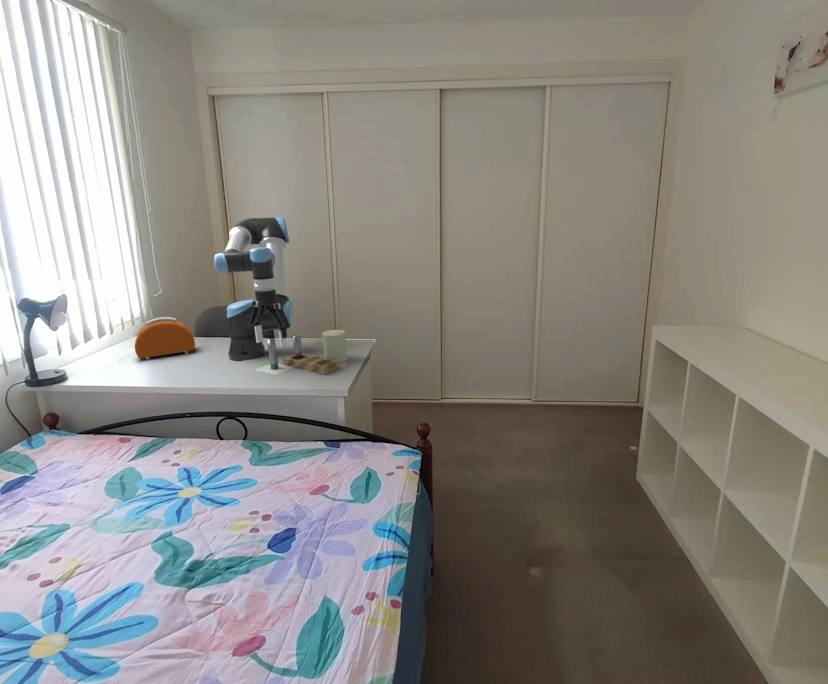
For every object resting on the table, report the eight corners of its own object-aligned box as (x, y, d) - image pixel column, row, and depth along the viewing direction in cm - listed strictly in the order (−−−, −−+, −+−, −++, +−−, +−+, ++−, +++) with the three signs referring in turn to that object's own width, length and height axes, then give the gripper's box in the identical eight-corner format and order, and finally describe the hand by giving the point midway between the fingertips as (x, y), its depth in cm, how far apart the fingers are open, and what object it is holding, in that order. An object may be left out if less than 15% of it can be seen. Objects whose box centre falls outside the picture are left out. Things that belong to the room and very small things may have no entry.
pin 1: (269, 368, 203) (265, 339, 200) (275, 366, 205) (271, 337, 202) (274, 370, 201) (270, 340, 198) (280, 367, 204) (276, 338, 200)
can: (342, 363, 207) (340, 334, 203) (321, 363, 209) (318, 334, 205) (350, 356, 215) (348, 328, 212) (329, 356, 217) (326, 328, 214)
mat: (254, 370, 203) (254, 369, 203) (274, 363, 211) (274, 362, 211) (275, 375, 196) (275, 374, 196) (295, 367, 204) (294, 367, 204)
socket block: (283, 366, 207) (282, 358, 206) (300, 359, 214) (299, 352, 213) (324, 374, 195) (323, 367, 194) (340, 367, 202) (339, 360, 201)
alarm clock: (195, 347, 237) (189, 312, 232) (196, 352, 229) (190, 316, 224) (138, 356, 228) (130, 319, 223) (137, 362, 220) (129, 323, 215)
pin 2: (294, 364, 208) (291, 336, 204) (299, 362, 210) (296, 334, 207) (299, 366, 206) (296, 337, 203) (305, 363, 208) (302, 335, 205)
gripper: (235, 289, 198) (242, 342, 204) (280, 293, 185) (286, 350, 190) (251, 285, 204) (257, 337, 210) (295, 289, 191) (301, 345, 196)
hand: (271, 344), depth 200 cm, fingers open, 13 cm apart
